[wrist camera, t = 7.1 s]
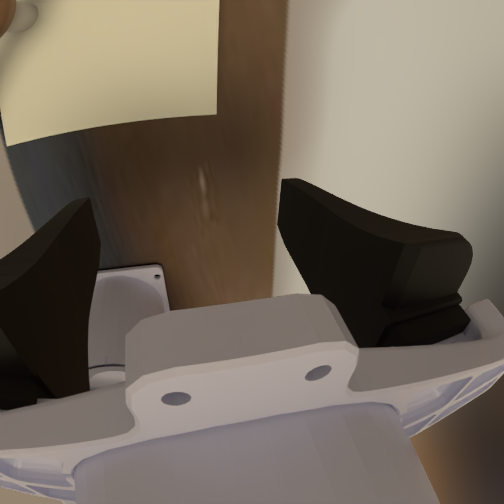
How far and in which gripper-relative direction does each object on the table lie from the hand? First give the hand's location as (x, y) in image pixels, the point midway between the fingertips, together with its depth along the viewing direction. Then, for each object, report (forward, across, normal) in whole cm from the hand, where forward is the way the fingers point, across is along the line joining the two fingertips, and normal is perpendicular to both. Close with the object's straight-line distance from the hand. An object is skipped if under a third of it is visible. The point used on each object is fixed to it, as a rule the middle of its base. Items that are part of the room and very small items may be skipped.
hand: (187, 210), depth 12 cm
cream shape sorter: (+10, +4, -14) cm, 18 cm away
